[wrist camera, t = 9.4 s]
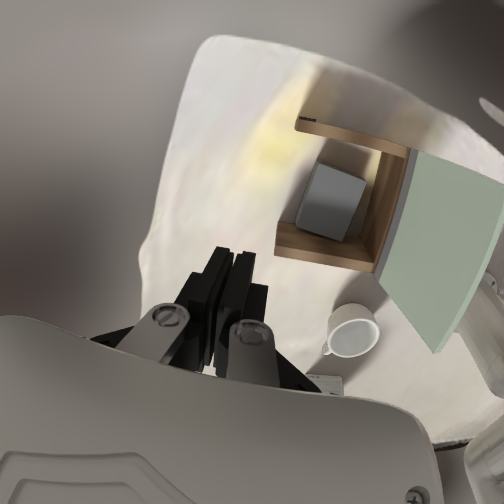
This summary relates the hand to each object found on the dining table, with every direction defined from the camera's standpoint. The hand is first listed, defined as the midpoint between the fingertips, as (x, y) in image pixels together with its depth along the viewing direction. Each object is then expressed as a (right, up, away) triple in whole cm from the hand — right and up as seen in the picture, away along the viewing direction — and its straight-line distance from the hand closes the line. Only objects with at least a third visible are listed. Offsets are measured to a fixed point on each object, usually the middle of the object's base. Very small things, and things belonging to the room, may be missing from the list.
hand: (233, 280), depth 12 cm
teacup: (+15, -9, +31) cm, 36 cm away
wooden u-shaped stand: (+11, +9, +22) cm, 26 cm away
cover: (+16, +2, +9) cm, 18 cm away
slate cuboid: (+10, +8, +23) cm, 26 cm away
